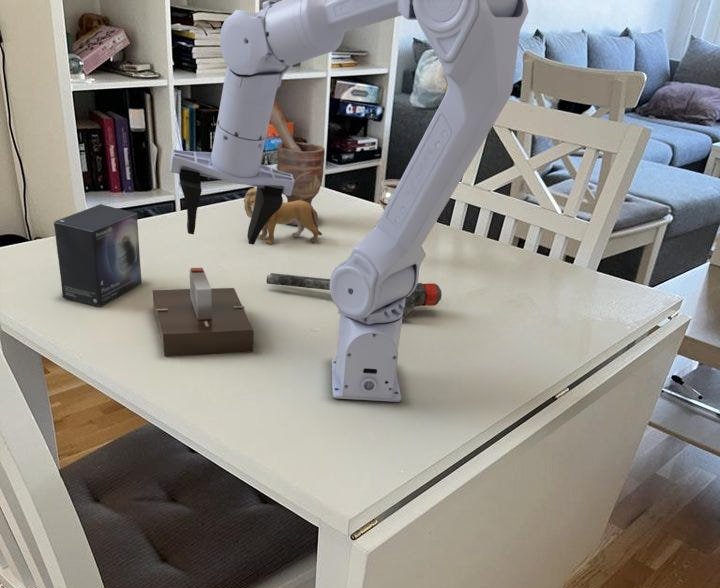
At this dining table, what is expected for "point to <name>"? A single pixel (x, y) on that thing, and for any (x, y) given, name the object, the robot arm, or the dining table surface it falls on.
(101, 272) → the small box
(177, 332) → the block
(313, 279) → the grey and red tool
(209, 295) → the tap handle
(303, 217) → the lion figurine
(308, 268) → the dining table surface
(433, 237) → the dining table surface
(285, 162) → the mortar and pestle
